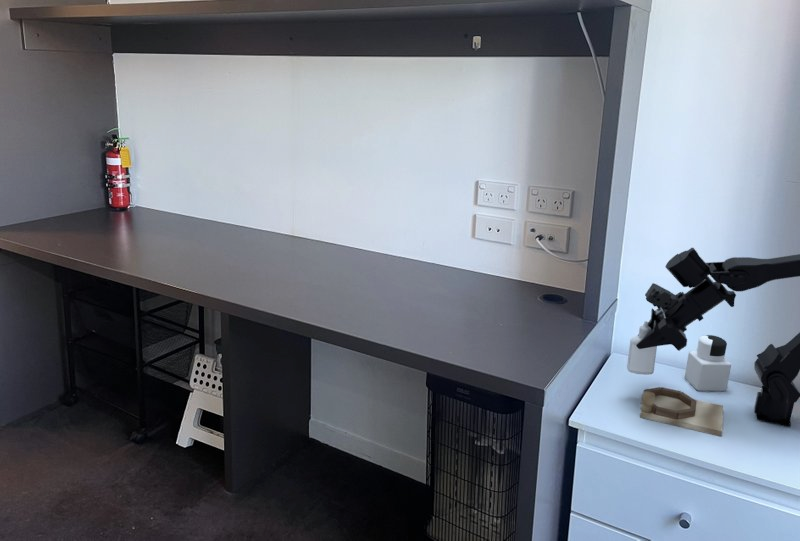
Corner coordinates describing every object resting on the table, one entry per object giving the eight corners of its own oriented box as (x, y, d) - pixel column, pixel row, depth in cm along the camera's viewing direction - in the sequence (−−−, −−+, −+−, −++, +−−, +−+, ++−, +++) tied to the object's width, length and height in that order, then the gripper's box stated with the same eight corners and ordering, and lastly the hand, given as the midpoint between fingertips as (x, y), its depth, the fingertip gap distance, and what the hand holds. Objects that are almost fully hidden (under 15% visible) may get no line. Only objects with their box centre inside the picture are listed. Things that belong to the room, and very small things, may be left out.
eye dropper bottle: (648, 378, 146) (654, 328, 143) (623, 370, 150) (629, 321, 146) (656, 372, 149) (662, 322, 146) (632, 364, 153) (637, 316, 149)
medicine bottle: (712, 377, 163) (720, 332, 159) (726, 391, 156) (736, 344, 152) (683, 377, 162) (691, 332, 159) (697, 391, 156) (705, 344, 152)
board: (722, 410, 147) (726, 389, 146) (721, 436, 137) (725, 414, 135) (644, 393, 154) (647, 373, 152) (637, 416, 144) (640, 395, 142)
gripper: (667, 262, 150) (611, 303, 156) (677, 288, 133) (614, 333, 139) (699, 298, 151) (643, 338, 157) (714, 328, 133) (649, 371, 140)
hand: (636, 343), depth 148 cm, fingers closed on eye dropper bottle, 3 cm apart
